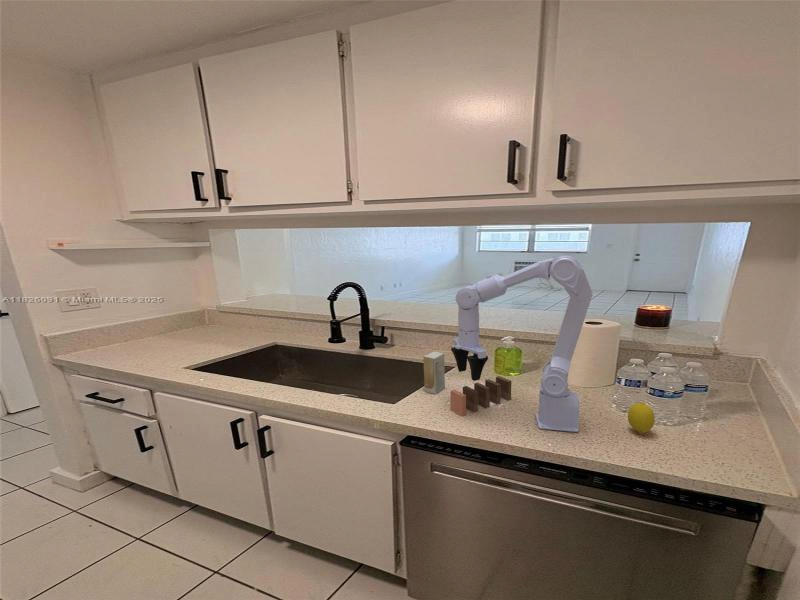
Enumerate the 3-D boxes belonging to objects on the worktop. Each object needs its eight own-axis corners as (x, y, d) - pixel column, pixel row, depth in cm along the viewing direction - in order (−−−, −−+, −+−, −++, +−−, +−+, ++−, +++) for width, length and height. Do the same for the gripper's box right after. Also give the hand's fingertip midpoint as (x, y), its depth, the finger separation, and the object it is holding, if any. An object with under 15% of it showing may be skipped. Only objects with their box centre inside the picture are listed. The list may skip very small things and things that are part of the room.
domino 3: (477, 401, 111) (477, 382, 110) (489, 407, 107) (489, 387, 106) (474, 402, 110) (474, 383, 109) (485, 408, 106) (486, 388, 105)
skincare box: (434, 385, 124) (434, 350, 122) (445, 388, 121) (445, 352, 119) (423, 391, 119) (422, 355, 117) (434, 395, 116) (434, 358, 114)
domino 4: (488, 397, 113) (488, 379, 112) (500, 403, 109) (500, 384, 108) (485, 398, 112) (485, 380, 111) (497, 404, 108) (497, 385, 107)
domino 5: (498, 394, 115) (499, 376, 114) (511, 399, 111) (511, 380, 110) (495, 395, 115) (495, 376, 114) (507, 400, 110) (508, 382, 109)
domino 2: (466, 404, 109) (466, 385, 108) (477, 411, 104) (478, 391, 103) (462, 406, 108) (462, 386, 107) (474, 412, 104) (474, 392, 103)
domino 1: (454, 408, 106) (454, 389, 105) (465, 415, 102) (465, 395, 101) (450, 410, 106) (450, 390, 105) (462, 416, 101) (462, 396, 100)
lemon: (621, 427, 93) (623, 398, 92) (642, 426, 93) (644, 397, 92) (637, 439, 88) (639, 408, 86) (658, 437, 88) (661, 406, 87)
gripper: (444, 325, 107) (444, 369, 109) (469, 336, 94) (469, 386, 96) (465, 322, 110) (465, 365, 112) (492, 333, 96) (492, 382, 98)
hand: (468, 375), depth 104 cm, fingers open, 7 cm apart
